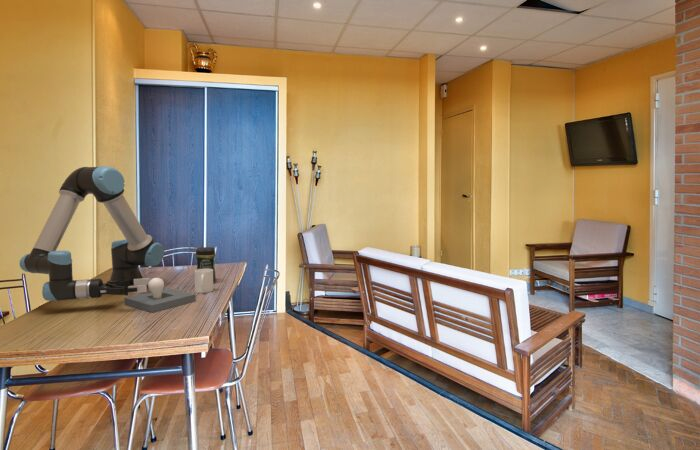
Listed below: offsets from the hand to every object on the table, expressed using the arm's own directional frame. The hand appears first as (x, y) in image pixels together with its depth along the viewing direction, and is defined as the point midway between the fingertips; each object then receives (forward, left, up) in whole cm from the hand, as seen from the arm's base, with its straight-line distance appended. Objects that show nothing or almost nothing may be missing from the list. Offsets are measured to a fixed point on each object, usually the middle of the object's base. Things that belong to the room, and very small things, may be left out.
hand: (148, 284), depth 171 cm
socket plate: (+2, +4, -8) cm, 9 cm away
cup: (+2, +26, -9) cm, 27 cm away
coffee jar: (-13, +39, -9) cm, 41 cm away
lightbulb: (+4, +1, -8) cm, 9 cm away
